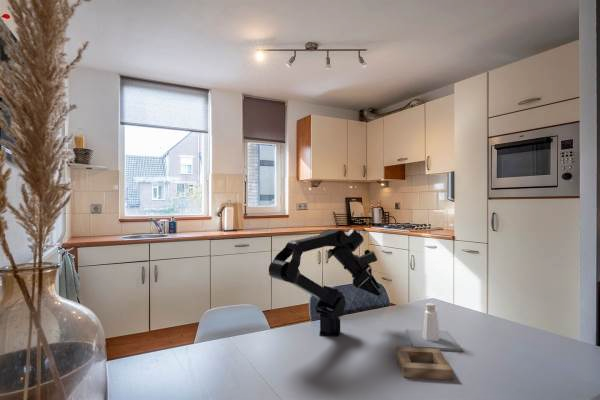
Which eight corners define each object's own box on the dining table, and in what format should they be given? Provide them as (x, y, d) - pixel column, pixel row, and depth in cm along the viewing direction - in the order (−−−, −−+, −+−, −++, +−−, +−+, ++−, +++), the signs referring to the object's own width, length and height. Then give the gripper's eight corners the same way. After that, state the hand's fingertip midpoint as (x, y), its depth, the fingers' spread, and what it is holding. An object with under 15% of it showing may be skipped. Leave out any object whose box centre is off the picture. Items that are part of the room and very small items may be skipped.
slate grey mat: (413, 349, 99) (413, 346, 99) (405, 331, 113) (405, 329, 113) (462, 351, 97) (462, 348, 97) (447, 333, 111) (447, 330, 111)
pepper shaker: (437, 335, 108) (437, 301, 108) (442, 342, 102) (441, 306, 102) (420, 334, 108) (419, 301, 109) (424, 341, 103) (423, 306, 103)
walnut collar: (403, 376, 83) (403, 367, 83) (395, 355, 95) (395, 346, 95) (452, 380, 82) (452, 369, 82) (439, 357, 93) (439, 348, 94)
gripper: (362, 246, 107) (398, 282, 104) (364, 240, 125) (394, 270, 122) (338, 269, 108) (373, 305, 106) (343, 260, 127) (373, 290, 124)
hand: (379, 291), depth 114 cm, fingers open, 9 cm apart
